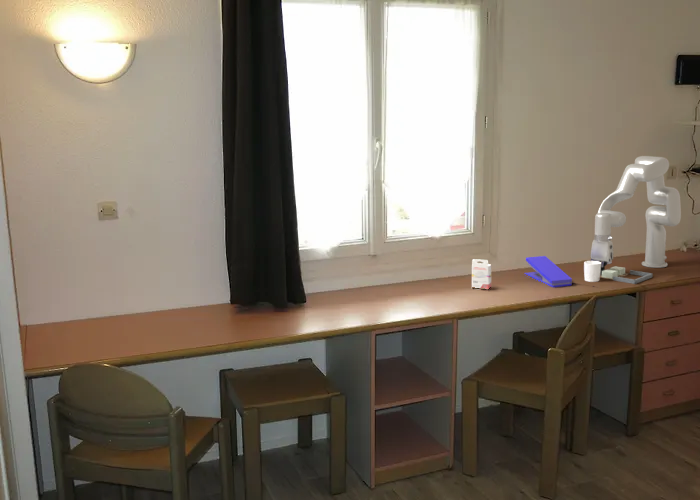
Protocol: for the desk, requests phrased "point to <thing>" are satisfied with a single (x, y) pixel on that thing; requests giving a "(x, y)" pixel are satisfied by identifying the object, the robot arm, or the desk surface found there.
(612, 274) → the sage tile
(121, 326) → the desk surface
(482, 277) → the ink cartridge box
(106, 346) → the desk surface
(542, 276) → the stapler
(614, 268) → the sage tile
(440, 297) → the desk surface
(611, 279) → the walnut board
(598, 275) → the white cup
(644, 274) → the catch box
